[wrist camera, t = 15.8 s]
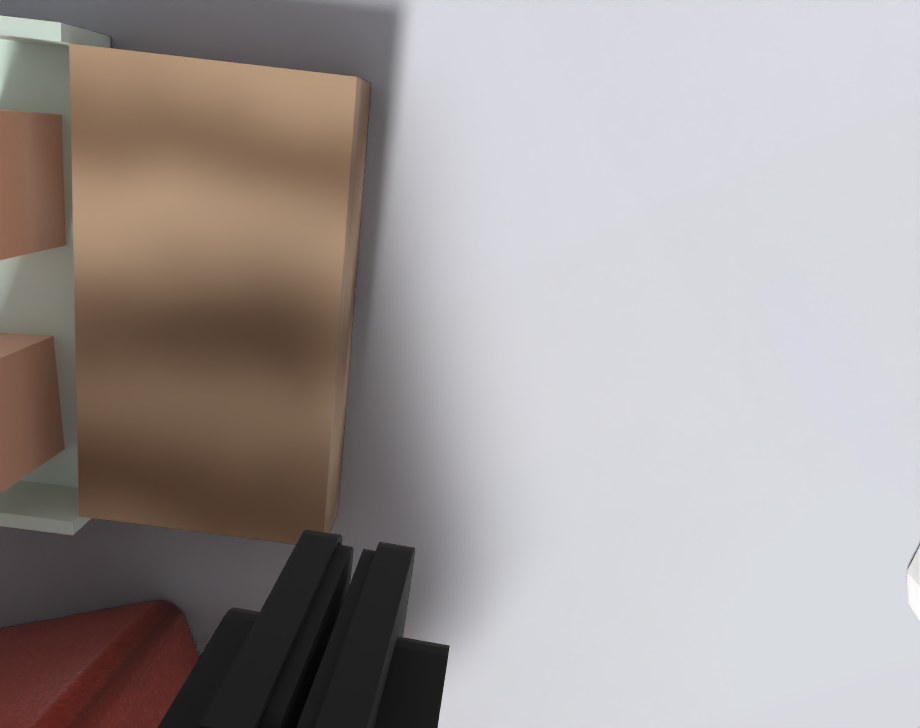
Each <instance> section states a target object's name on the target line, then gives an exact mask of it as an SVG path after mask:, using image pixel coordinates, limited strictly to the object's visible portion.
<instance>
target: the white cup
mask: <svg viewBox="0 0 920 728" xmlns="http://www.w3.org/2000/svg"><path fill="white" fill-rule="evenodd" d="M907 586H908V603H909V605H910V607H911V608H912V610H913V611H914V613H915V614H916V616H917V617H918V619H919V620H920V546H919V548H918V550H917V552H916V554H915V556H914V558H913V560H912V562H911V564H910V566H909V568H908V570H907Z"/></svg>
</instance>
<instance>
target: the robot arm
mask: <svg viewBox="0 0 920 728" xmlns="http://www.w3.org/2000/svg"><path fill="white" fill-rule="evenodd" d="M414 555H415V548H413V547H407V546H401V545H395V544H389V543H384V542H379V544H378V546H377V549H376V551H372V550H367V549H364V550H363V552H362V554H361V557H360V559H359V562H358V565H357V567H356V570H355V573H354V575H353V578H352V581H351V583H350V579H351V570H352V562H353V547H349V546H343V545H342V537H341V535H337V534H331V533H325V532H320V531H314V530H308V529H306V530H304V531H303V533H302V535H301V537H300V538H299V540H298V542H297V544H296V546H295V548H294V550H293V552H292V553H291V555H290V557H289V559H288V561H287V563H286V565H285V567H284V568H283V570H282V572H281V574H280V576H279V578H278V580H277V582H276V583H275V585H274V587H273V589H272V591H271V593H270V595H269V597H268V598H267V600H266V602H265V604H264V606H263V608H262V610H261V612H255V611H250V610H244V609H238V608H232V609H230V610H229V611H228V612H227V613H226V615H225V616H224V617H223V619H222V621H221V622H220V624H219V626H218V627H217V629H216V631H215V632H214V634H213V636H212V637H211V639H210V641H209V642H208V644H207V646H206V647H205V649H204V651H203V652H202V654H201V656H200V657H199V659H198V661H197V662H196V664H195V666H194V667H193V669H192V671H191V672H190V674H189V676H188V677H187V679H186V681H185V682H184V684H183V686H182V687H181V689H180V691H179V692H178V694H177V696H176V697H175V699H174V701H173V702H172V704H171V706H170V707H169V709H168V711H167V712H166V714H165V716H164V717H163V719H162V721H161V722H160V724H159V726H158V727H157V728H437V727H438V720H439V713H440V707H441V700H442V693H443V687H444V680H445V673H446V666H447V660H448V653H449V646H448V645H443V644H437V643H431V642H426V641H420V640H414V639H409V638H403V632H404V625H405V618H406V611H407V604H408V597H409V590H410V583H411V576H412V569H413V562H414Z"/></svg>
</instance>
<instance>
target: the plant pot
mask: <svg viewBox="0 0 920 728" xmlns="http://www.w3.org/2000/svg"><path fill="white" fill-rule="evenodd" d="M198 659H199V656H198V654H197V651H196V648H195V645H194V643H193V640H192V637H191V634H190V632H189V629H188V626H187V623H186V620H185V617H184V616H183V614H182V612H181V611H180V610H179V609H178V608H177V607H175V606H174V605H173V604H172V603H168V602H164V601H150V602H144V603H138V604H132V605H127V606H121V607H117V608H112V609H105V610H99V611H94V612H89V613H84V614H79V615H73V616H68V617H63V618H57V619H52V620H46V621H41V622H35V623H30V624H24V625H19V626H13V627H8V628H2V629H0V728H157V727H158V726H159V724H160V722H161V721H162V719H163V717H164V716H165V714H166V712H167V711H168V709H169V707H170V706H171V704H172V702H173V701H174V699H175V697H176V696H177V694H178V692H179V691H180V689H181V687H182V686H183V684H184V682H185V681H186V679H187V677H188V676H189V674H190V672H191V671H192V669H193V667H194V666H195V664H196V662H197V661H198Z"/></svg>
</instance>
